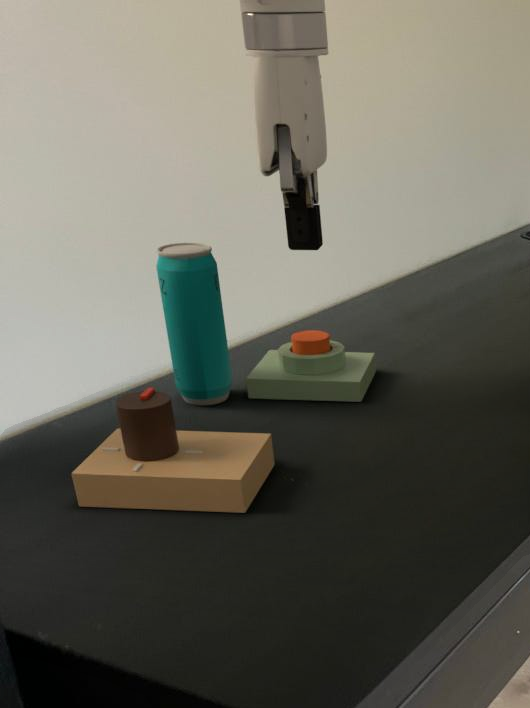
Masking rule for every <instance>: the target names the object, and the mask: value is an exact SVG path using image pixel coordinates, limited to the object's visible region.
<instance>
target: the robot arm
mask: <svg viewBox="0 0 530 708" xmlns="http://www.w3.org/2000/svg"><path fill="white" fill-rule="evenodd" d="M325 1H326V0H239V5H240V12H241V13H240V16H241V22H242V23H241V24H242V31H243V42H244V49H245V56H247V57H252V99H253V100H252V101H253V117H254V131H255V144H256V155H257V166H258V171H259V172H260V173H261V175H263V176H264V177H270V176H272V175H273V174H275V173H277V172H278V173H279V184H280V185H279V186H280V192H281V195H282V200H283V207H284V208H283V209H284V218H285V228H286V238H287V247H288V249H289V250H290V251H318V250H320V248H321V247H322V246H323V244H324V241H323V231H322V230H323V229H322V218H321V207H320V204H319V202H320V201H319V200H320V198H319V182H318V180H319V179H318V169H320V168H321V167H322V166H323V165H324V164H325V163H326V162H327V158H328V140H327V130H326V129H327V128H326V115H325V105H324V95H323V93H324V92H323V87H322V85H323V84H322V75H321V70H320V69H321V68H320V61H319V57H320V56H328V55H329V48H328V47H329V41H328V29H327V28H328V27H327V15H326V3H325Z"/></svg>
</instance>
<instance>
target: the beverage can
mask: <svg viewBox="0 0 530 708" xmlns="http://www.w3.org/2000/svg"><path fill="white" fill-rule="evenodd" d="M212 252H213V248H212V246H211V245H209V244H206V243H201V242H178V243H177V242H176V243H170V244H165V245H162V246H159V247H158V248H157V249H156V253H157V254H158V258H157V262H156V266H155V267H156V274H157V279H158V285H159V291H160V298H161V304H162V310H163V316H164V322H165V328H166V335H167V341H168V347H169V353H170V358H171V366H172V371H173V377H174V383H175V386H176V388H177V390H178V392H179V394H180V395H181V398H182V399H183V401H185V403H187V404H189V405H192V406H213V405H218V404H221V403H223V402H225V401H227V399H228V398H229V396H230V393H231V389H232V384H233V375H232V367H231V362H230V354H229V346H228V338H227V330H226V325H225V324H226V323H225V316H224V309H223V301H222V292H221V284H220V277H219V270H218V269H219V268H218V263H217V261H216V259H215V257H214V255H213V253H212Z"/></svg>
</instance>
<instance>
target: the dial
mask: <svg viewBox="0 0 530 708" xmlns="http://www.w3.org/2000/svg"><path fill="white" fill-rule="evenodd" d="M114 404H115V409H116V414H117V418H118V424H119V429H121V434H122V439H123V444H124V449H125V454H126V456H127V457H128V458H130V459H133V460H138V461H154V460H160V459H165V458H168V457H170V456H173V455H174V454H176V453H177V452H178V450H179V444H178V438H177V432H176V431H177V427H176V426H177V425H176V421H175V415H174V410H173V402H172V397H171V395H169V394H168V393H166V392H163V391H158V390H156V389H155V387H147V388H146V389H145V390H144V391H134V392H131V393H127V394H124V395H121V396H119V397H118V398H117V399H116V400H115V403H114Z"/></svg>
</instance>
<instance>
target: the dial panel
mask: <svg viewBox="0 0 530 708" xmlns="http://www.w3.org/2000/svg"><path fill="white" fill-rule="evenodd" d="M176 432H177V438H178V444H179V450H178V452H177V453H176V454H174V455H173V456H170V457H168V458H165V459H160V460H154V461H138V460H133V459H130V458H128V457H127V456H126V454H125V449H124V444H123V439H122V434H121V429H120V428H116V429H115V430H114V431H113V432H112V433H111V434H110V435H109V436H108V437H107V438H106V439H105V440H104V441H103V442H102V443H101V444H100V445H99V446H98V447H96V449H94V450H93V452H92V453H90V454H89V456H88V457H86V458H85V459H84V460H83V461H82V462H81V464H79V465H78V466H77V467H76V468H75V469H74V470H73V471H72V472H71V479H72V482H73V487H74V490H75V494H76V495H75V496H76V499H77V504H78V507H83V508H105V509H106V508H107V509H130V510H131V509H133V510H158V511H159V510H160V511H161V510H162V511H181V512H182V511H185V512H212V513H215V512H216V513H238V514H244V513H247V511H248V509H249V507H250V506H251V504H252V503H253V501H254V499H255V498H256V496H257V494H258V493H259V491H260V490H261V488H262V486H263V485H264V483H265V482H266V480H267V478H268V477H269V474H270V473H271V472H272V470H273V469H274V467H275V457H274V447H273V439H272V433H264V432H263V433H261V432H233V431H232V432H231V431H229V432H228V431H203V430H202V431H199V430H176Z"/></svg>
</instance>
